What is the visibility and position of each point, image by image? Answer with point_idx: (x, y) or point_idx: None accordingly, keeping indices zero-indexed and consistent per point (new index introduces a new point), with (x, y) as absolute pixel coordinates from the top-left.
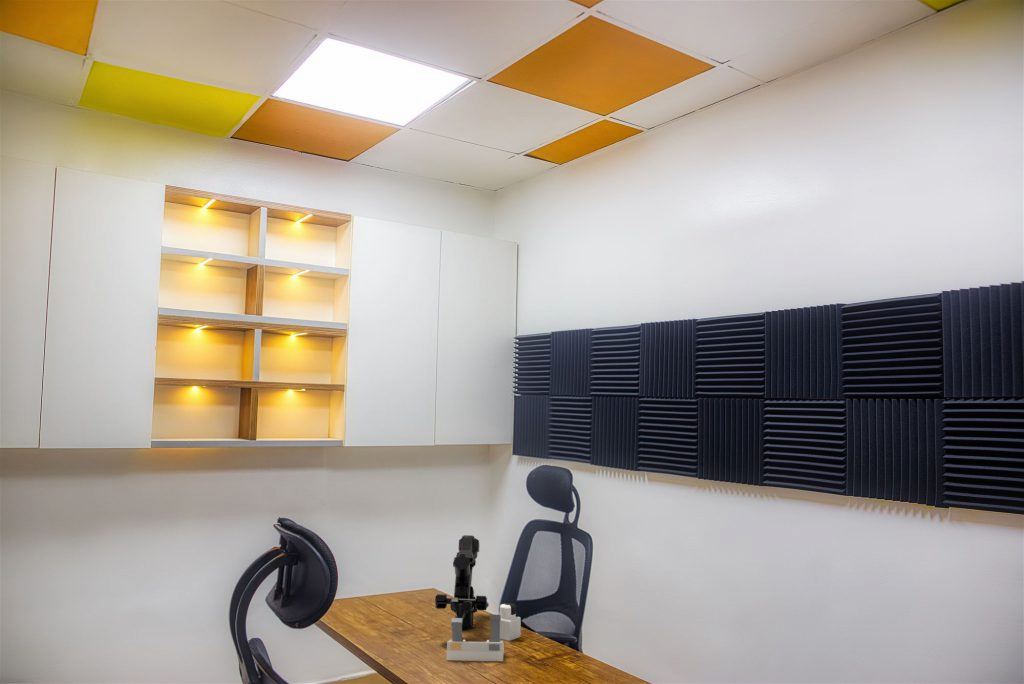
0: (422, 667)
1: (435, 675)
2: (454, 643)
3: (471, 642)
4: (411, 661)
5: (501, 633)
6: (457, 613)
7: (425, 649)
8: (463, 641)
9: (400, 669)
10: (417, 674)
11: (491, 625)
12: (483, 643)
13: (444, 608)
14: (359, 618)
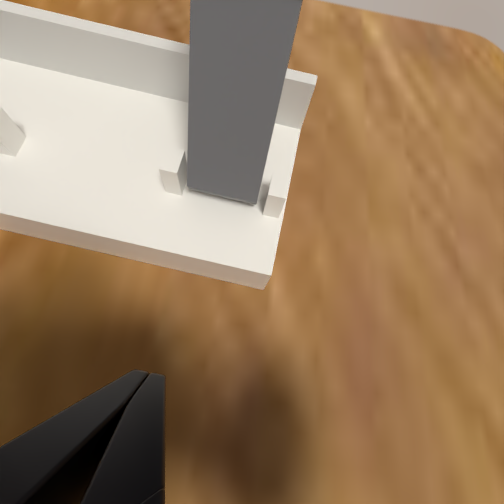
0: (406, 91)
1: (348, 6)
2: None
3: (142, 35)
4: (468, 172)
5: None
6: (142, 473)
7: (415, 366)
8: (180, 152)
9: (498, 89)
10: (420, 29)
11: None
12: (58, 20)
13: None
14: None
